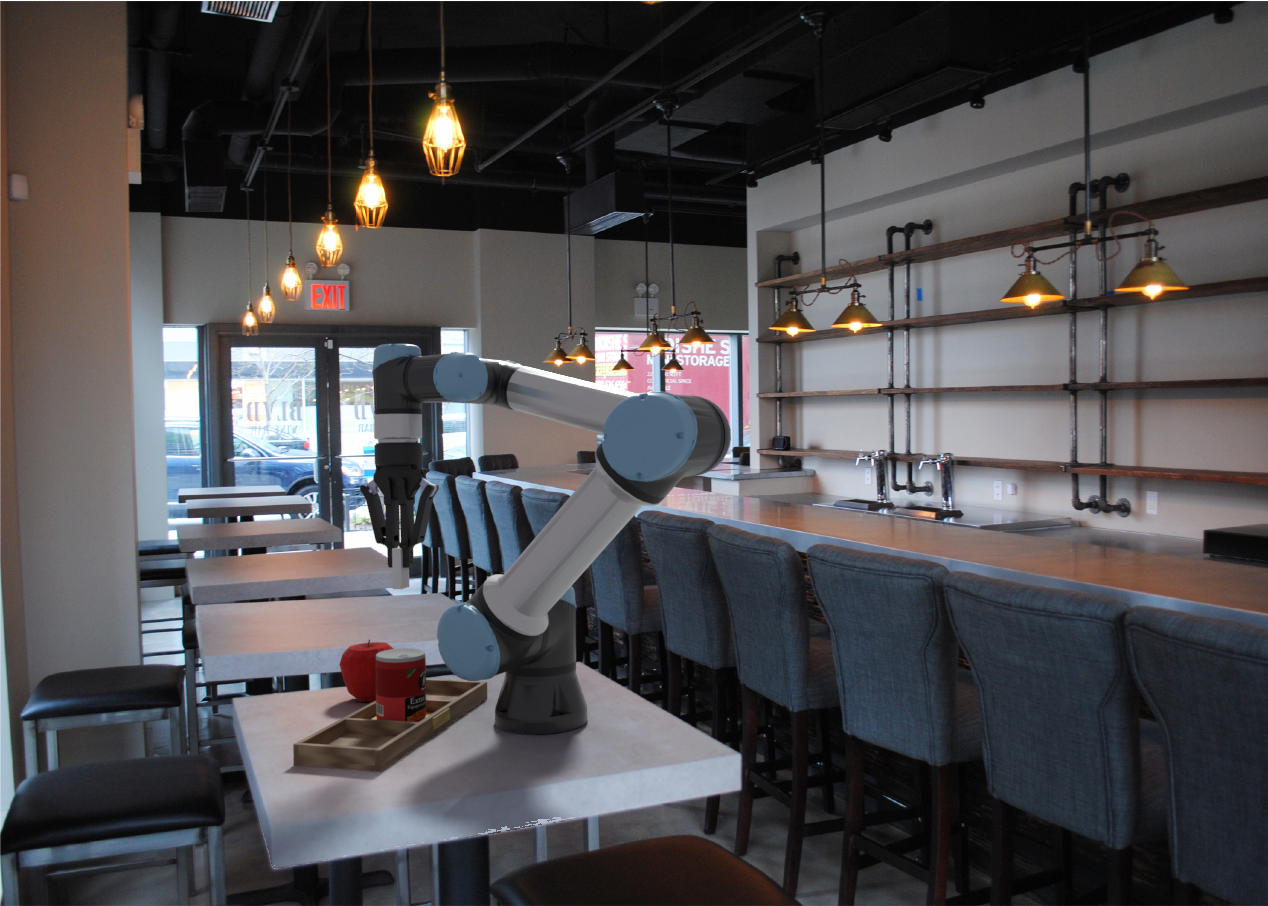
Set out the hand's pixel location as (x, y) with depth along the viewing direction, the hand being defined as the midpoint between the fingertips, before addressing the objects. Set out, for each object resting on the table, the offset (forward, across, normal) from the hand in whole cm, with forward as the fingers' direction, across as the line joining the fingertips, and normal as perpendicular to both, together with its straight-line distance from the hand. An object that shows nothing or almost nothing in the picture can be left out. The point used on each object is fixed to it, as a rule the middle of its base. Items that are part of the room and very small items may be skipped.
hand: (400, 587), depth 154 cm
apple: (+23, +14, -15) cm, 31 cm away
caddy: (+23, 0, 0) cm, 23 cm away
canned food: (+22, 0, 0) cm, 22 cm away
